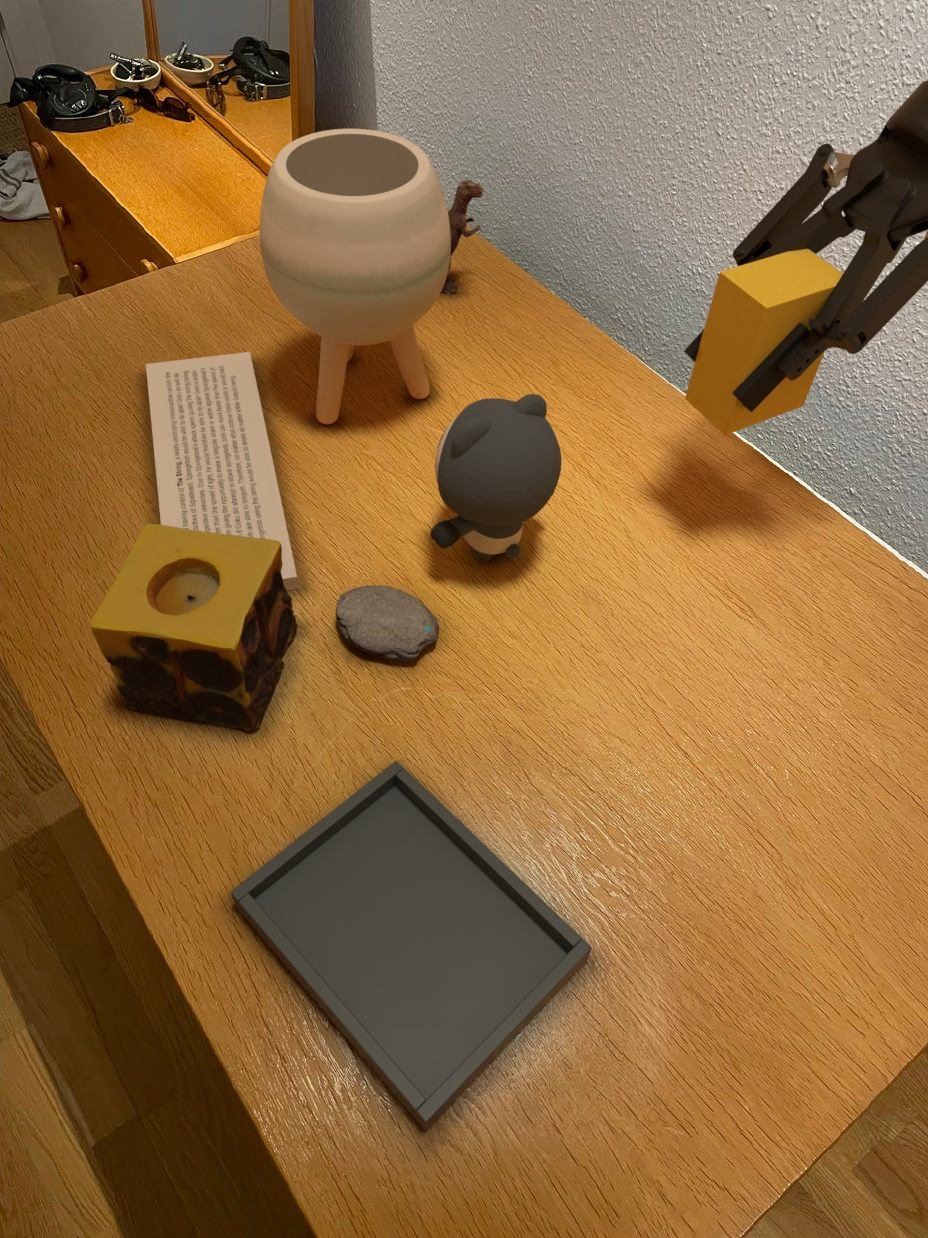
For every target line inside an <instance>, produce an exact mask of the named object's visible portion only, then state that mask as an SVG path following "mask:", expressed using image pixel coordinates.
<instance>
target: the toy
mask: <svg viewBox="0 0 928 1238" xmlns="http://www.w3.org/2000/svg"><path fill="white" fill-rule="evenodd" d="M547 414H548V405H547V402H546V400H545V399H544V397H543V396H542V395H540V394H537V393H529V394H526V395H524V396H522V397H520V398H519V399H517V400H515V401H514V400H510V399H505V398H494V397H491V398H481V399H479V400H476V401H474V402H471V403H469V404H468V405H466V406H465V407H464V408H463V409H462V411H460V412H459V413H458V414H457V416H456V417H454V418H453V419H452V421H451V422H450V423H449V424H448V426H447V427H446V428H445V430H444V432H443V434H442V435H441V436H440V439H439V442H438V444H437V447H436V448H437V449H436V454H435V461H434V474H435V480H436V483H437V489H438V493H439V496H440V498H441V500H442V502H443V503H444V505H445V506H446V507H447V508H448V509H449V510H450V511H451V512H453V513H454V514H456V515H457V516H454V517H451V518H447V519H444V520H441V521H438V522H437V523H436V524H435V525H434V526H433V527H432V528H431V530H430V532H429V533H430V538H431V539H432V541H434V543H435V545H437V546H438V547H439V548H440V549H442V550H445V549H448V548H450V547H452V546H453V545H455V544H456V543H458V541H459V540H461V539H462V538H463V537H464V539H465V541H466V543H467V544H468V546H469V547H470V550H471V553H472V554H473V555H474V558H475V559H476V560H477V561H478V562H481V563H488V562H489V561H490V560H491V558H492V557H493V556H494V555H501V554H506V556H507V557H508V558H509V559H511V560H516V559H518V558H520V556H521V554H522V548H521V546H520V545H518V544H519V543H520V540H521V538H522V535H523V530H524V529H523V527H524V523H526V522H527V521H528V520H531V519H532V518H534V517H535V516H536V515H538V513H540V512H541V510H543V508H544V507H545V506H546V505H547V504H548V502H549V501H550V499H551V497H552V496H553V495H554V494H555V492H556V491H555V490H556V489H557V486H558V483H559V480H560V476H561V471H562V451H561V447H560V444H559V441H558V438H557V435H556V433H555V431H554V429H553V428H552V425H551V424H550V422H549V421H548V420H547V418H546V416H547Z"/></svg>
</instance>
